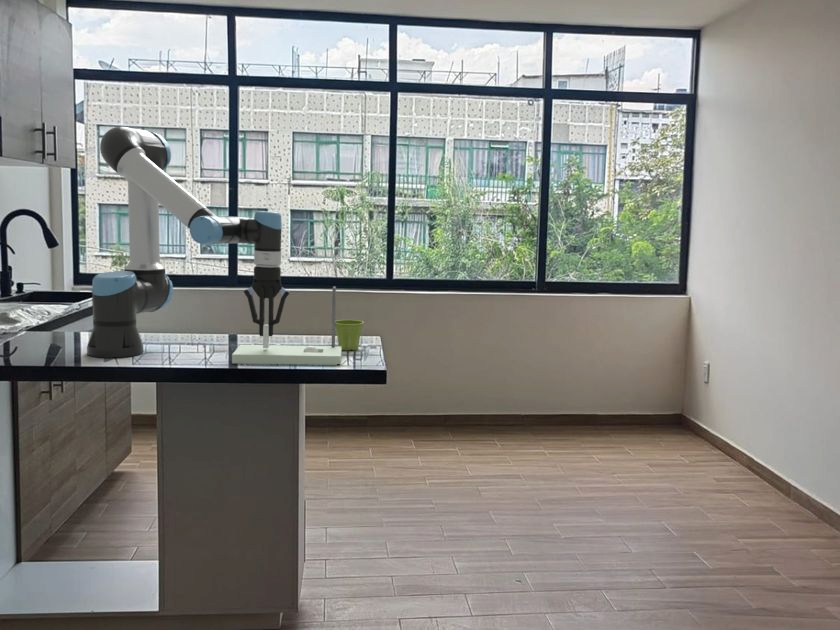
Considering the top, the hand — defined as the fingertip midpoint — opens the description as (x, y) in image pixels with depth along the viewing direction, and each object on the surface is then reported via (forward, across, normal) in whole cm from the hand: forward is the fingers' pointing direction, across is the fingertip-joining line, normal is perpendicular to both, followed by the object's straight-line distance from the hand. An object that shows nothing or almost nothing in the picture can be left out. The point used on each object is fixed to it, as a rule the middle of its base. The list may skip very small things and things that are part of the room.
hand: (266, 347), depth 221 cm
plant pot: (+3, +24, +18) cm, 30 cm away
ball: (+1, +13, -1) cm, 13 cm away
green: (+3, +7, +1) cm, 8 cm away
